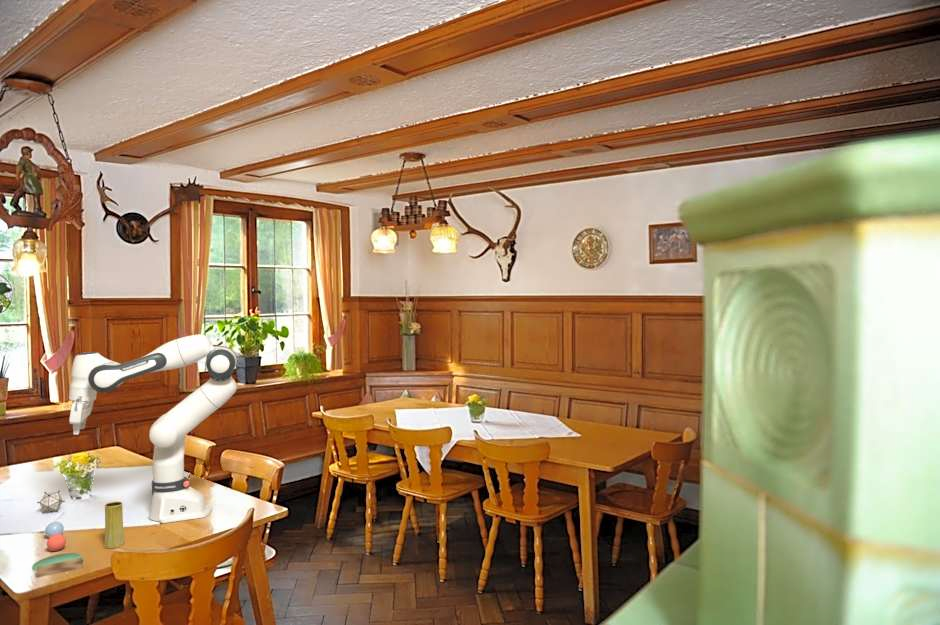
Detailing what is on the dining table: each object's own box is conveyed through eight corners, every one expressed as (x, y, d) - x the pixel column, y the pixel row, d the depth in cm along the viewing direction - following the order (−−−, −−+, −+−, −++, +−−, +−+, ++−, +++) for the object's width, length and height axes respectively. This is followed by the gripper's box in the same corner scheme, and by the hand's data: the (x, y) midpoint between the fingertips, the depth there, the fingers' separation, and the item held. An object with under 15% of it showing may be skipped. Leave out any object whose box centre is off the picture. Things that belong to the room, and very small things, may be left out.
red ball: (68, 546, 219) (68, 530, 219) (62, 552, 213) (62, 536, 213) (50, 548, 217) (50, 532, 217) (44, 554, 212) (43, 538, 212)
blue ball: (66, 534, 230) (65, 518, 230) (60, 539, 225) (60, 524, 225) (48, 535, 229) (48, 520, 229) (42, 541, 224) (42, 525, 223)
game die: (52, 522, 253) (47, 507, 247) (35, 513, 254) (29, 498, 248) (71, 505, 260) (67, 490, 254) (54, 496, 261) (49, 481, 255)
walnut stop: (82, 565, 203) (82, 557, 203) (83, 567, 202) (82, 559, 202) (36, 575, 196) (36, 566, 196) (37, 577, 195) (36, 569, 195)
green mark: (90, 551, 214) (90, 551, 214) (75, 569, 201) (75, 568, 201) (42, 556, 211) (42, 555, 211) (24, 574, 197) (24, 573, 197)
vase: (109, 542, 223) (108, 501, 222) (127, 541, 223) (127, 500, 223) (100, 549, 217) (100, 507, 216) (119, 548, 217) (118, 506, 217)
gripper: (86, 399, 232) (82, 437, 232) (97, 391, 251) (93, 426, 251) (66, 398, 229) (62, 437, 229) (79, 390, 248) (75, 425, 248)
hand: (78, 431), depth 240 cm, fingers open, 8 cm apart
